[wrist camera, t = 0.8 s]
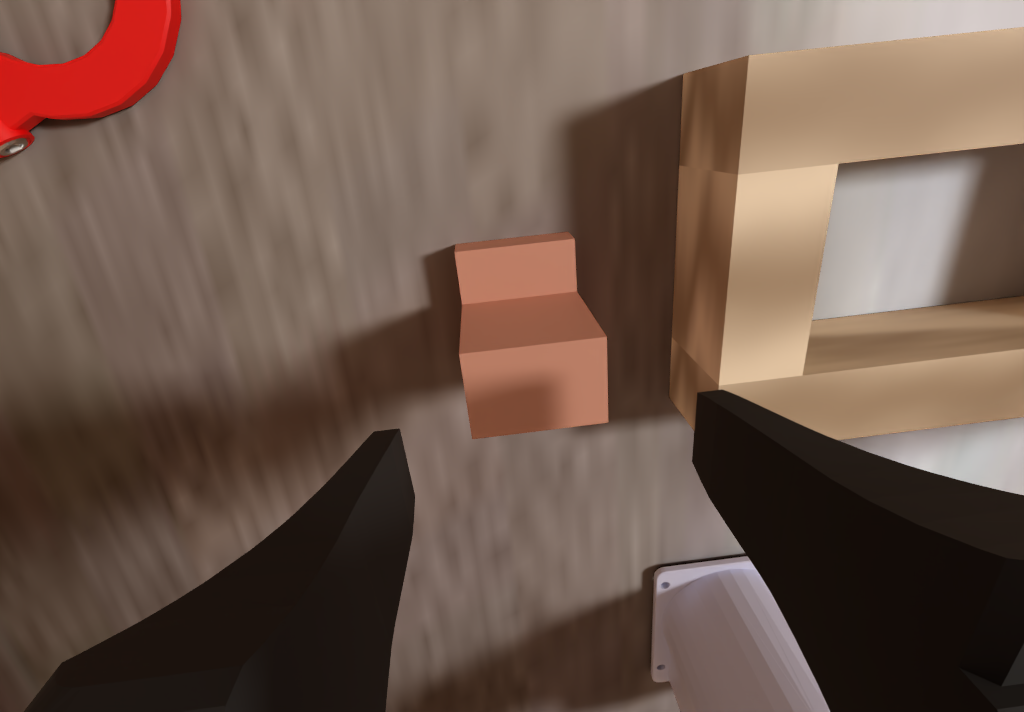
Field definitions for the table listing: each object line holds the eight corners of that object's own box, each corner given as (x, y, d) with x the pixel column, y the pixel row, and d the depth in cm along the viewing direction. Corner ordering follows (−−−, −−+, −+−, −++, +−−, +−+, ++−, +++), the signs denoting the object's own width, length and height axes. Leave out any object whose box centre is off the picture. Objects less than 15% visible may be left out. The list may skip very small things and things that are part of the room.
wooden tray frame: (1067, 349, 23) (1195, 395, 19) (669, 397, 23) (712, 455, 19) (1203, 19, 18) (1423, -15, 14) (683, 73, 17) (749, 55, 13)
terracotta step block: (573, 348, 21) (608, 422, 16) (472, 360, 21) (472, 439, 16) (568, 231, 19) (605, 271, 14) (455, 244, 19) (448, 288, 14)
